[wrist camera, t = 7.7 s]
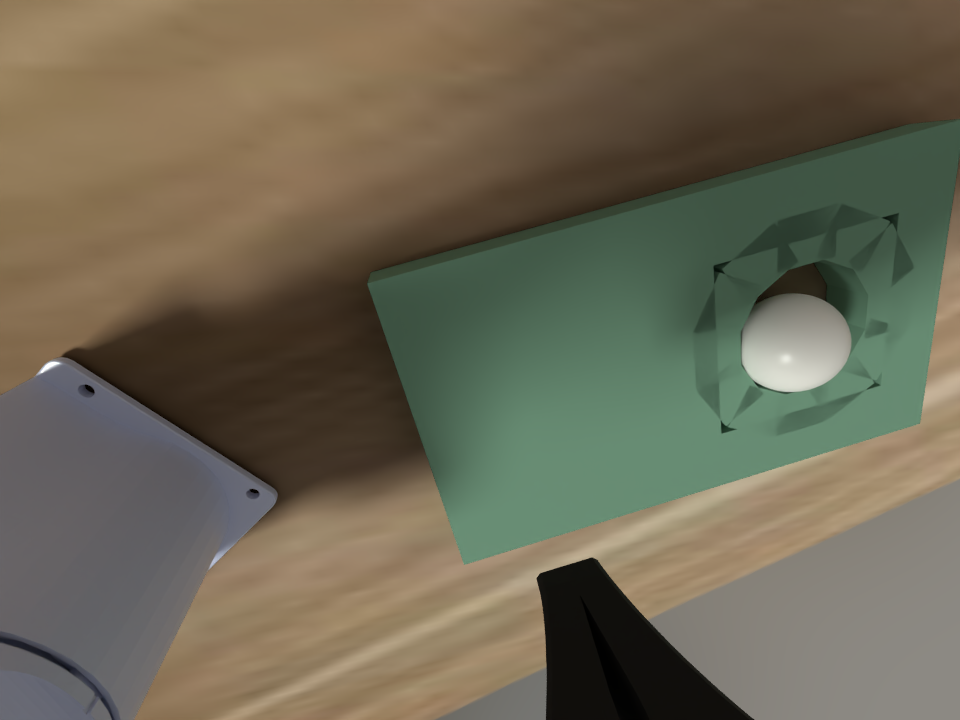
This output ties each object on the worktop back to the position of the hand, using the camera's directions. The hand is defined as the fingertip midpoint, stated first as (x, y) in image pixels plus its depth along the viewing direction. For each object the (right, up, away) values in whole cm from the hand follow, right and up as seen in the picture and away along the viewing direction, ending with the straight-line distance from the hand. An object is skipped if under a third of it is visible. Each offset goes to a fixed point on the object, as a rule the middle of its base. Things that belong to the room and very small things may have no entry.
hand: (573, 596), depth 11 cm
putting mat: (+6, +6, +10) cm, 13 cm away
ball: (+10, +6, +9) cm, 15 cm away
